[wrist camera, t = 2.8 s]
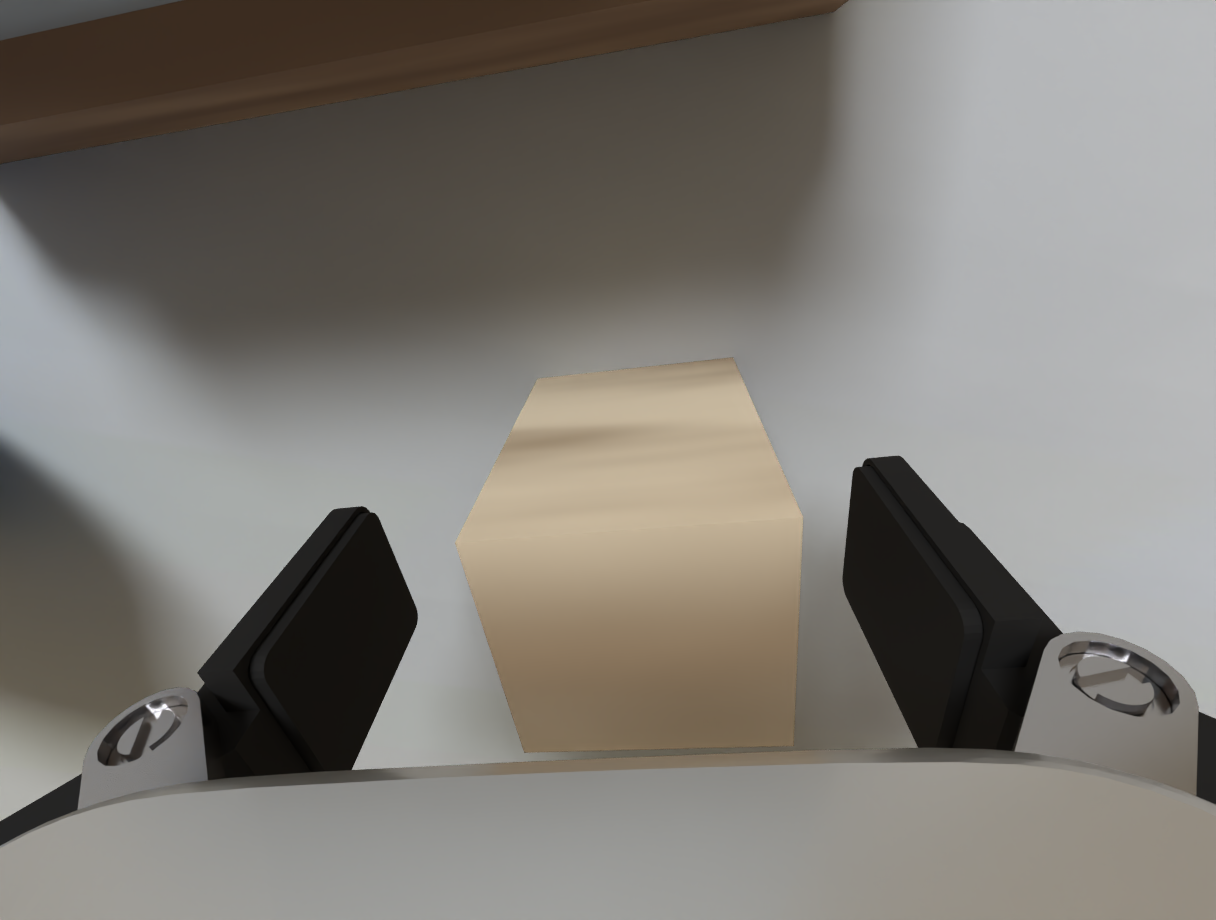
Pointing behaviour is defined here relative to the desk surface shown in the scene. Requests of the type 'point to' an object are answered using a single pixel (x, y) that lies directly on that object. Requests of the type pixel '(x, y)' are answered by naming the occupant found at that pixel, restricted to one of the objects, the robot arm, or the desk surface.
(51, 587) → the desk surface
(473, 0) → the walnut slab
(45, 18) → the slate slab
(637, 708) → the beech block
